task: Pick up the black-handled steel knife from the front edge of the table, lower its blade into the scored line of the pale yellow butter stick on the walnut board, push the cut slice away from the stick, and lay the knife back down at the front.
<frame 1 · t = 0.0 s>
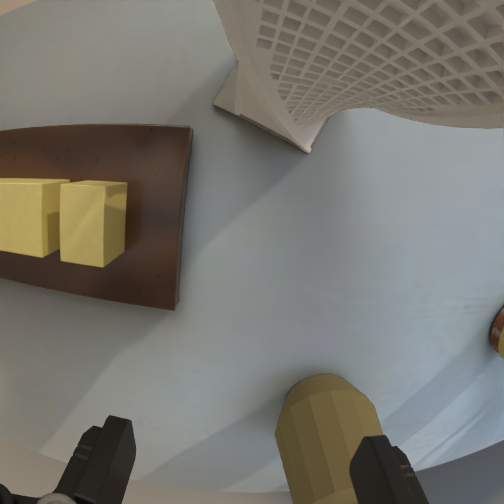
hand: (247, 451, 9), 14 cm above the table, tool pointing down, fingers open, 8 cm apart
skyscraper: (291, 96, 19), on the table
board: (48, 206, 20), on the table
butter slice: (105, 215, 19), point 1 cm above the table, touching board
butter: (18, 208, 19), point 1 cm above the table, touching board
squeeze bottle: (317, 397, 25), on the table
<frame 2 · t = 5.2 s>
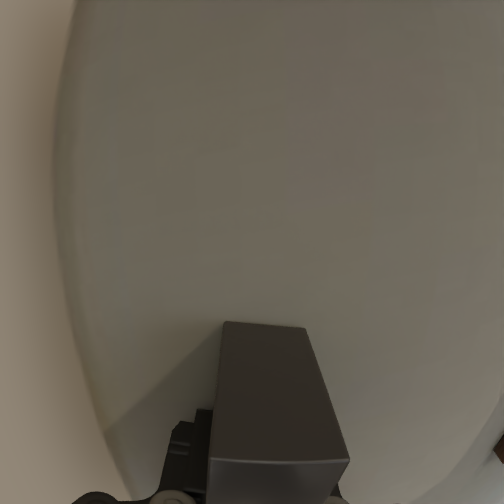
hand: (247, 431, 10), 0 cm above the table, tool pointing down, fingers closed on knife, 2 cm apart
knife: (236, 488, 11), on the table, touching gripper
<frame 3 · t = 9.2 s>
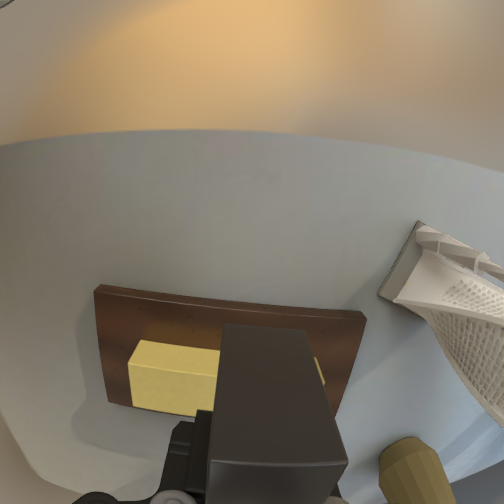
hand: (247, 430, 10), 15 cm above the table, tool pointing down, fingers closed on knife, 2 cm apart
knife: (236, 489, 11), point 15 cm above the table, touching gripper
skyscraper: (426, 282, 25), on the table
board: (224, 362, 26), on the table
butter: (199, 369, 25), point 1 cm above the table, touching board
squeeze bottle: (398, 449, 31), on the table
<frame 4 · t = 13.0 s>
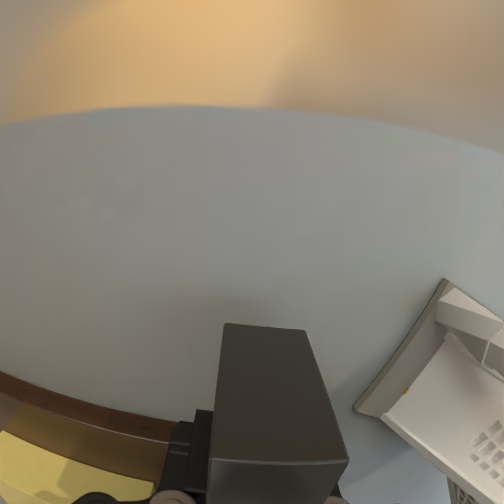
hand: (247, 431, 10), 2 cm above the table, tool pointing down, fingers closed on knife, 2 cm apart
knife: (236, 489, 11), point 2 cm above the table, touching butter slice, gripper
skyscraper: (444, 377, 13), on the table
board: (114, 470, 14), on the table
butter: (78, 478, 13), point 1 cm above the table, touching board
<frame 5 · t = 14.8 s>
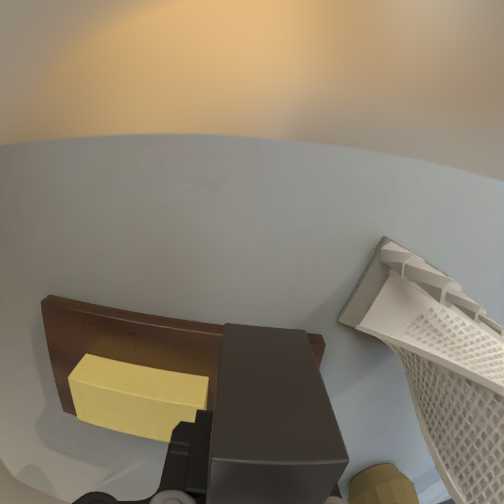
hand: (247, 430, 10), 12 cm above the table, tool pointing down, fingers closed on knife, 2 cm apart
knife: (236, 489, 11), point 12 cm above the table, touching gripper
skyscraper: (397, 304, 23), on the table
board: (173, 381, 24), on the table
butter: (145, 387, 22), point 1 cm above the table, touching board
squeeze bottle: (372, 475, 29), on the table
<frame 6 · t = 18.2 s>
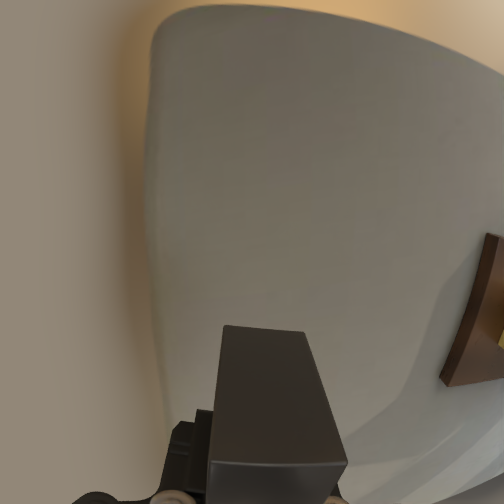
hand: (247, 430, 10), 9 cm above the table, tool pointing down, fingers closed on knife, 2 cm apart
knife: (236, 490, 11), point 9 cm above the table, touching gripper
when the fingers open (0 cm above the table, at t = 20.5 s): knife stays where it is, on the table.
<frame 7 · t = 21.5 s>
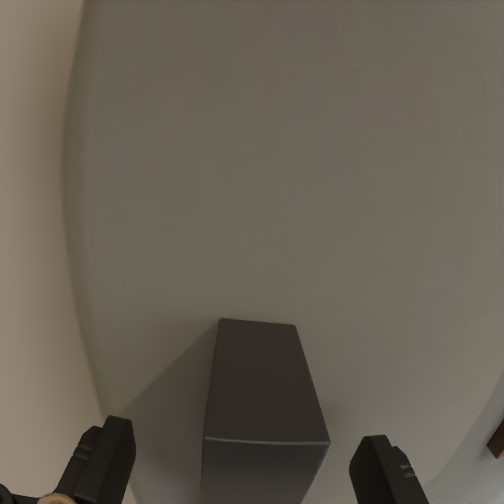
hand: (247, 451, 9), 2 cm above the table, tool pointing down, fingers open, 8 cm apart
knife: (232, 480, 12), on the table
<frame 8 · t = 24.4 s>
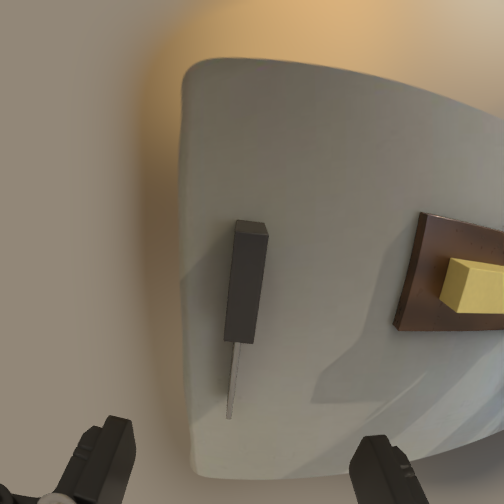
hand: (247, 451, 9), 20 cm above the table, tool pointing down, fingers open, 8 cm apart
knife: (239, 315, 30), on the table
board: (479, 278, 30), on the table
butter: (476, 282, 28), point 1 cm above the table, touching board
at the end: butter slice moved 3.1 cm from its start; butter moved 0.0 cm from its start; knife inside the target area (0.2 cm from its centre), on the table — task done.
